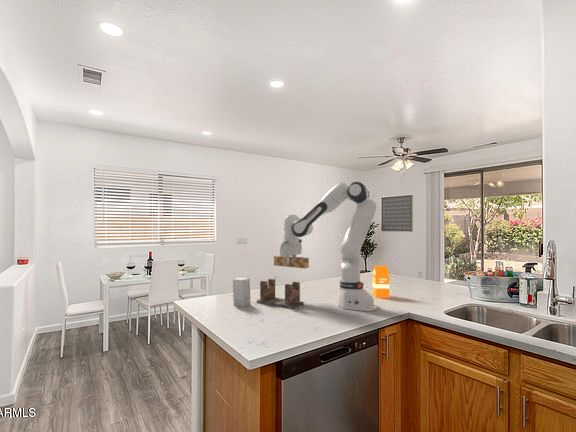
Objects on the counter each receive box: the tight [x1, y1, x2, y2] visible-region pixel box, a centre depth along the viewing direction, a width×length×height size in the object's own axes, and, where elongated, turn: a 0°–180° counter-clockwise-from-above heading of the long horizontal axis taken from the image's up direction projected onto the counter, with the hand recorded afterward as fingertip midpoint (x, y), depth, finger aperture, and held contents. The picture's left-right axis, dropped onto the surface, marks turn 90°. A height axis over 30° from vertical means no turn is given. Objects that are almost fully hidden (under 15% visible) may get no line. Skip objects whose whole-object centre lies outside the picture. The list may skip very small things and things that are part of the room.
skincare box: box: [232, 277, 252, 308], centre depth 186 cm, size 8×7×16 cm
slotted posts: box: [256, 278, 305, 310], centre depth 189 cm, size 26×12×13 cm, turn 57°
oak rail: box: [273, 255, 310, 269], centre depth 200 cm, size 24×4×6 cm, turn 55°
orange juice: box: [372, 265, 390, 299], centre depth 207 cm, size 8×9×20 cm
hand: (290, 262), depth 200 cm, fingers closed on oak rail, 4 cm apart
